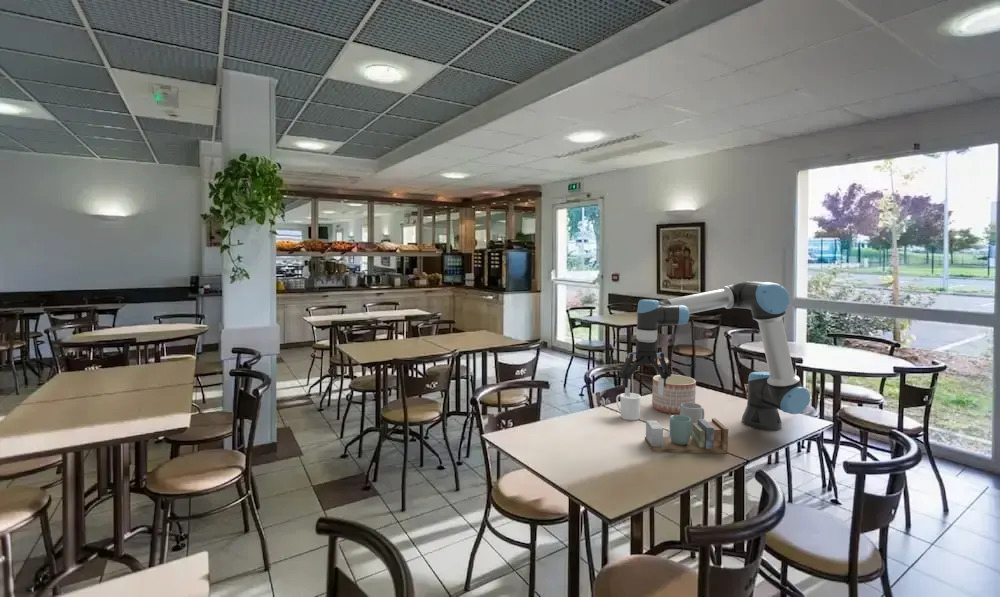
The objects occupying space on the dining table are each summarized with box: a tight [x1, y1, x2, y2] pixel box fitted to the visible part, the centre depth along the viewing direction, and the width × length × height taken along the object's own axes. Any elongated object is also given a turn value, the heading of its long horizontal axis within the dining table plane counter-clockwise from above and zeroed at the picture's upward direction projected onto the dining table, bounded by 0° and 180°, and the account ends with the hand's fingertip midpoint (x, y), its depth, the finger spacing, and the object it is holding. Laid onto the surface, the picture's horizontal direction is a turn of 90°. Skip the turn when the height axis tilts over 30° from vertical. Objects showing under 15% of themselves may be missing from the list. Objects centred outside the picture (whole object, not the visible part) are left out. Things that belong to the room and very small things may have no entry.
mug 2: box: [680, 402, 705, 435], centre depth 206 cm, size 12×8×11 cm
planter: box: [651, 374, 697, 416], centre depth 232 cm, size 19×19×15 cm
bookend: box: [645, 419, 664, 447], centre depth 189 cm, size 4×9×7 cm, turn 178°
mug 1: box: [615, 392, 642, 422], centre depth 221 cm, size 11×9×10 cm
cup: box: [668, 414, 692, 445], centre depth 188 cm, size 8×8×10 cm
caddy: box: [644, 417, 729, 454], centre depth 189 cm, size 28×12×9 cm, turn 88°
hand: (644, 395), depth 188 cm, fingers open, 13 cm apart
